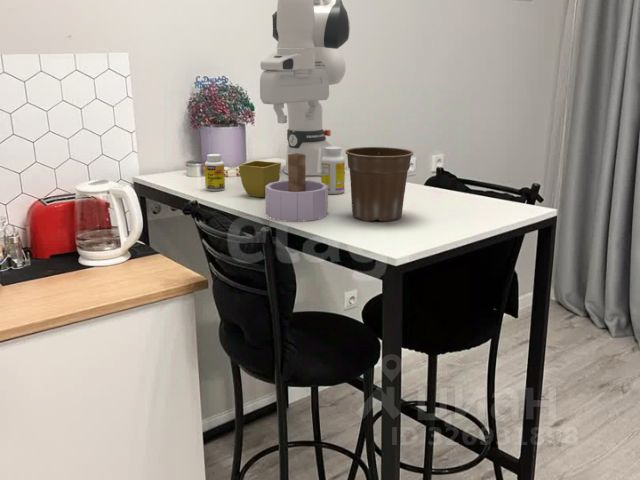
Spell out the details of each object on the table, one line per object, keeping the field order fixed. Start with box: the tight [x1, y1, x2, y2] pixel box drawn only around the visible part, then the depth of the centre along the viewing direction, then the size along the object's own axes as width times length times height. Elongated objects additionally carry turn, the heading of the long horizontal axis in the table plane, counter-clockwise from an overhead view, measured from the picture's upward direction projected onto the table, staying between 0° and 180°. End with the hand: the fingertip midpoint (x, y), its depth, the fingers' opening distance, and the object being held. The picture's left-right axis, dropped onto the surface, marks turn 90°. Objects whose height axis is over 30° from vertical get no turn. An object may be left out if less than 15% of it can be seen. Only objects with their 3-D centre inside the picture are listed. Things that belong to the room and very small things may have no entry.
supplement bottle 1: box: [204, 153, 226, 192], centre depth 186 cm, size 6×6×10 cm
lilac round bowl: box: [264, 179, 329, 222], centre depth 160 cm, size 15×15×7 cm
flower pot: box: [238, 160, 282, 198], centre depth 180 cm, size 9×9×9 cm
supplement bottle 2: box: [320, 146, 346, 195], centre depth 183 cm, size 7×7×13 cm
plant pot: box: [345, 146, 414, 222], centre depth 157 cm, size 16×16×16 cm
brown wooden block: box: [287, 153, 307, 192], centre depth 159 cm, size 3×3×14 cm
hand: (296, 121), depth 155 cm, fingers open, 8 cm apart
